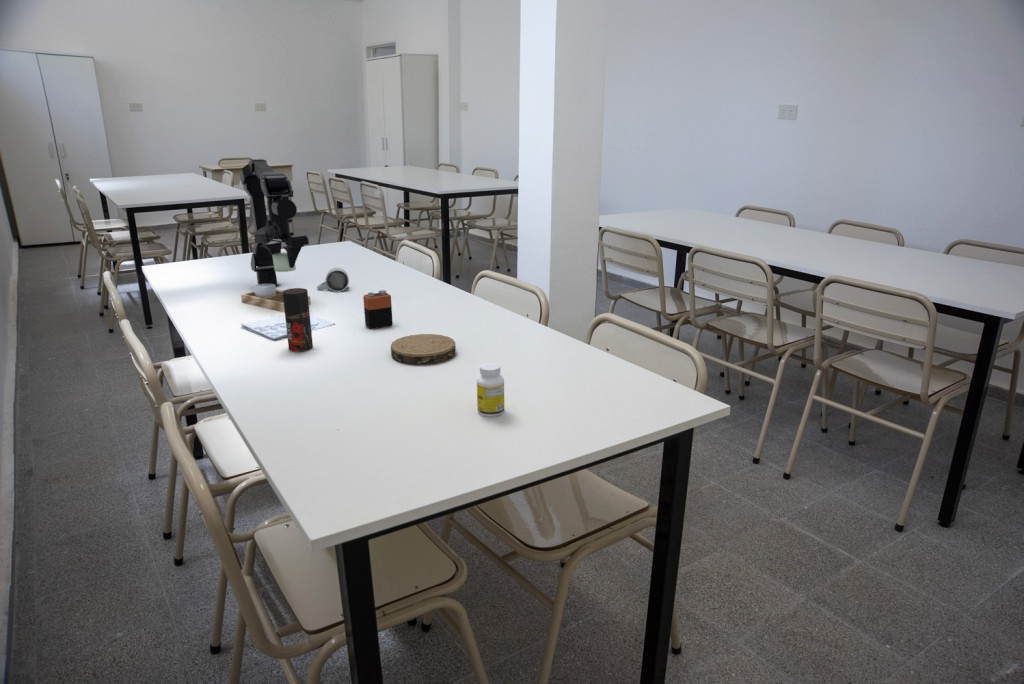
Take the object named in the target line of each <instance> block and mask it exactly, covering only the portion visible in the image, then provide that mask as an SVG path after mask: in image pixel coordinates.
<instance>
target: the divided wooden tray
mask: <svg viewBox="0 0 1024 684" xmlns="http://www.w3.org/2000/svg"><path fill="white" fill-rule="evenodd" d="M283 291H284V290H280V289H276V295H274V296H270V297H266V298H259V297H255V291H250V292H247V293H242V294H240V298H241V303H243V304H247V305H251V306H256V307H259V308H264V309H268V310H272V311H276V312H280V313H281V312H282V313H285V310H284V301H283ZM308 302H309V306H310V305H311V304H312V303H311V296H309V295H308Z"/></svg>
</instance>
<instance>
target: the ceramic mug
mask: <svg viewBox="0 0 1024 684" xmlns="http://www.w3.org/2000/svg"><path fill="white" fill-rule="evenodd" d="M349 284H350V278H349V275H348V273H347V271H346V270H345V269H343V268H341V267H333V268H331V269H330V270H328V271H327V274H326V277H325V281H323V282H322V283H320V284H319V285H317V287H316V288H317V290H318V291H324V290H326V289H328V290H330V291H331V292H334V293H339V292H338V291H342V292H344V291H345V290H346V289H348V286H349Z"/></svg>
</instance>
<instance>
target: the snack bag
mask: <svg viewBox="0 0 1024 684" xmlns="http://www.w3.org/2000/svg"><path fill="white" fill-rule="evenodd" d="M310 322H311V332H312V333H313V332H314V331H317V329H318V330H320V329H321V328H322V329H325V327H326V328H328V327H329V326H330V327H332V325H333V326H336V323H335V322H331V321H329V320H326V319H323V318H320V317H318V316H315V315H312V314H310ZM240 327H241V328H242V327H243V329H245V328H246V329H245V330H247V329H248V330H247V331H249V330H250V332H252V333H255V334H257V335H260V336H262V337H263V338H264V337H265V338H267V339H269V340H271V341H279V340H282V338H283V339H285V338H286V339H287V338H288V337H287V328H286V319H285V315H282V316H277V317H276V316H275V315H272V316H269V317H265V318H260V319H257V320H253V321H248V322H243V323H240ZM313 330H314V331H313Z"/></svg>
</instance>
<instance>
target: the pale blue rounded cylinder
mask: <svg viewBox="0 0 1024 684" xmlns="http://www.w3.org/2000/svg"><path fill="white" fill-rule="evenodd" d="M276 287H277V286H275V284H269V283H267V284H258V283H257V284H255V285H254V286H253V290H254V291H255V297H259V298H266V297H270V296H274V295H276V290H277V289H276ZM254 291H253V292H254Z"/></svg>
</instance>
